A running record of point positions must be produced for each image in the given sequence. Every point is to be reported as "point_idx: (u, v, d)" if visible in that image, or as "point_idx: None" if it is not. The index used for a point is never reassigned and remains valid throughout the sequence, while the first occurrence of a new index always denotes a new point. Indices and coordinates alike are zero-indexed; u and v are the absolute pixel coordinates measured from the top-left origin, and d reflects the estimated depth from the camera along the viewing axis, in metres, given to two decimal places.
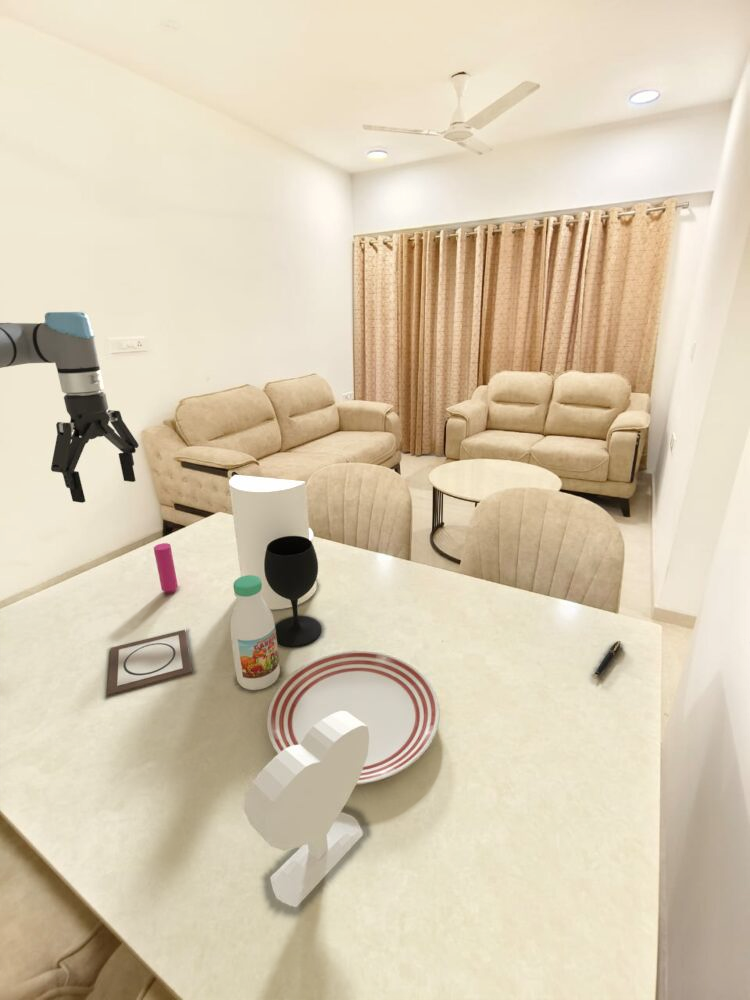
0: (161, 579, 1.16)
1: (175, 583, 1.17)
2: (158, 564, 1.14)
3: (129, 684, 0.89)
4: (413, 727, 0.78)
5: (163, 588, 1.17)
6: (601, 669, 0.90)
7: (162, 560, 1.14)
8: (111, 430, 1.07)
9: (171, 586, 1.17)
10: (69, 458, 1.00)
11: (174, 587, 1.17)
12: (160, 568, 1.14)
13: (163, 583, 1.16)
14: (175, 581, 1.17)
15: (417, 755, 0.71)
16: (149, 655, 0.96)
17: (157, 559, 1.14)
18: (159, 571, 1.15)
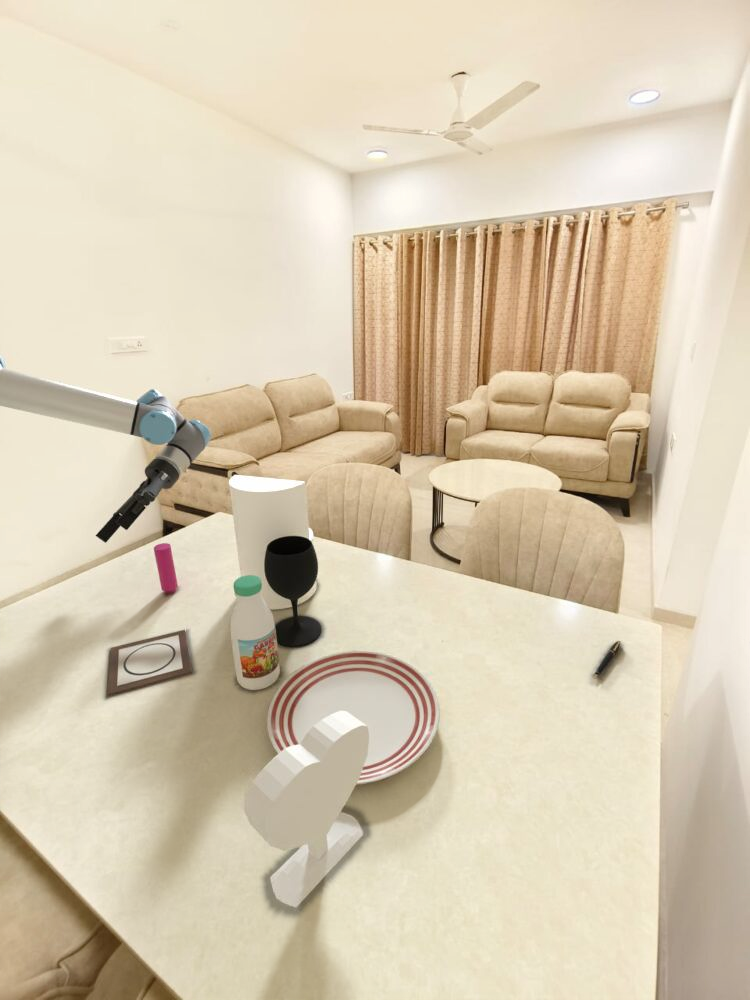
0: (161, 579, 1.16)
1: (175, 583, 1.17)
2: (158, 564, 1.14)
3: (129, 684, 0.89)
4: (413, 727, 0.78)
5: (163, 588, 1.17)
6: (601, 669, 0.90)
7: (162, 560, 1.14)
8: None
9: (171, 586, 1.17)
10: None
11: (174, 587, 1.17)
12: (160, 568, 1.14)
13: (163, 583, 1.16)
14: (175, 581, 1.17)
15: (417, 755, 0.71)
16: (149, 655, 0.96)
17: (157, 559, 1.14)
18: (159, 571, 1.15)
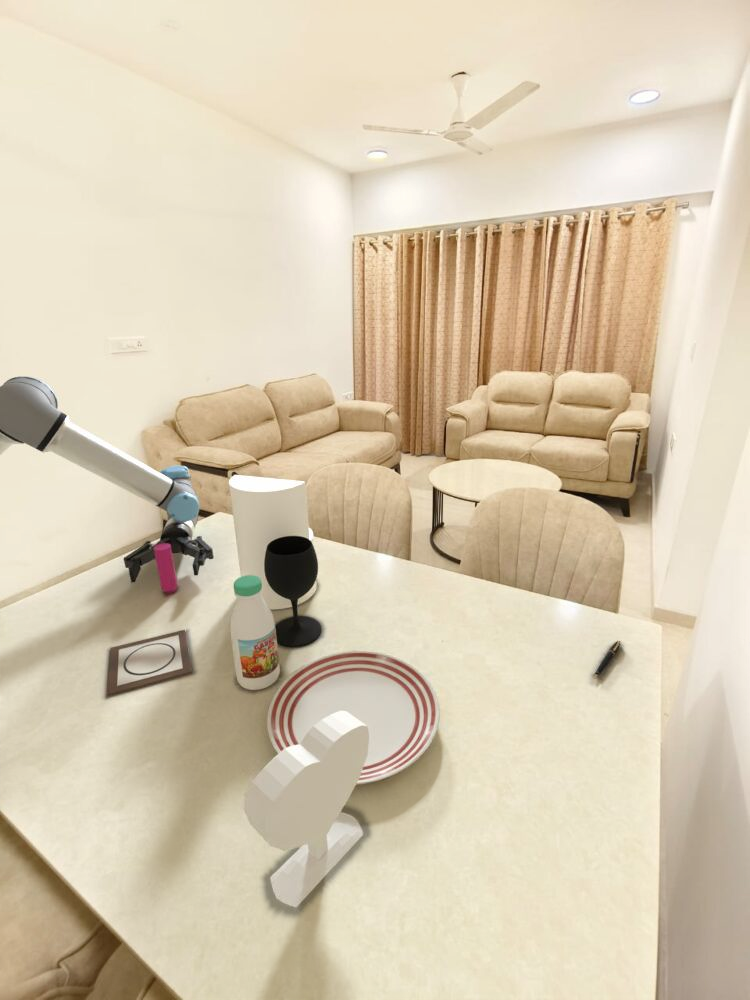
0: (161, 579, 1.16)
1: (175, 583, 1.17)
2: (158, 564, 1.14)
3: (129, 684, 0.89)
4: (413, 727, 0.78)
5: (163, 588, 1.17)
6: (601, 669, 0.90)
7: (162, 560, 1.14)
8: None
9: (171, 586, 1.17)
10: None
11: (174, 587, 1.17)
12: (160, 568, 1.14)
13: (163, 583, 1.16)
14: (175, 581, 1.17)
15: (417, 755, 0.71)
16: (149, 655, 0.96)
17: (157, 559, 1.14)
18: (159, 571, 1.15)
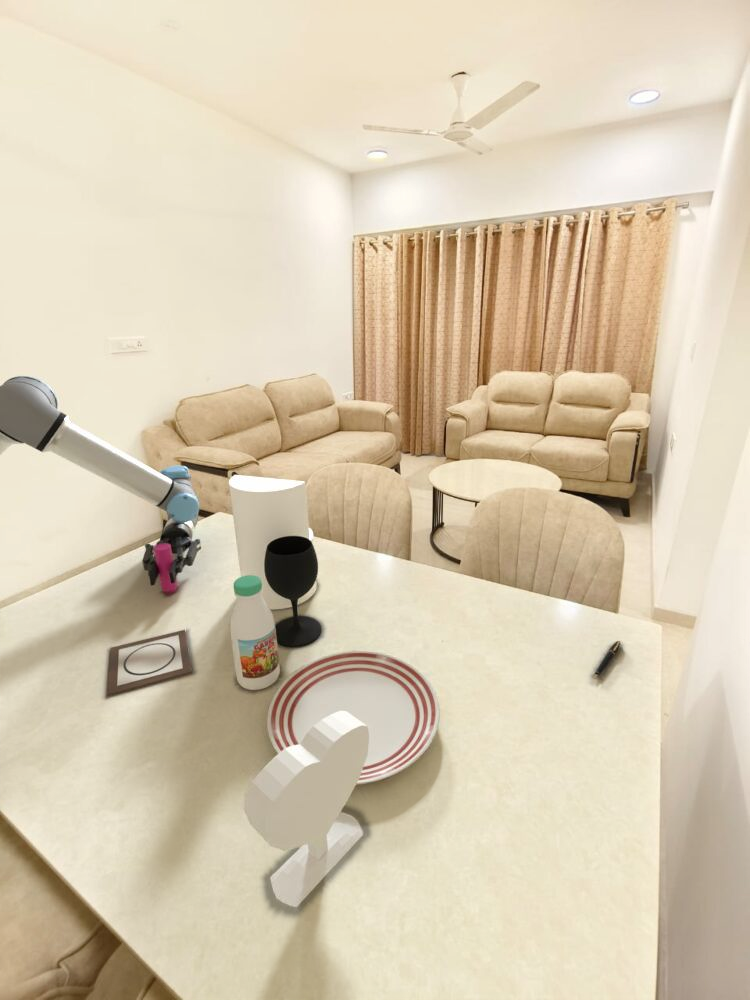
0: (161, 579, 1.16)
1: (175, 583, 1.17)
2: (158, 564, 1.14)
3: (129, 684, 0.89)
4: (413, 727, 0.78)
5: (163, 588, 1.17)
6: (601, 669, 0.90)
7: (162, 560, 1.14)
8: None
9: (171, 586, 1.17)
10: None
11: (174, 587, 1.17)
12: (160, 568, 1.14)
13: (163, 583, 1.16)
14: (175, 581, 1.17)
15: (417, 755, 0.71)
16: (149, 655, 0.96)
17: (157, 559, 1.14)
18: (159, 571, 1.15)
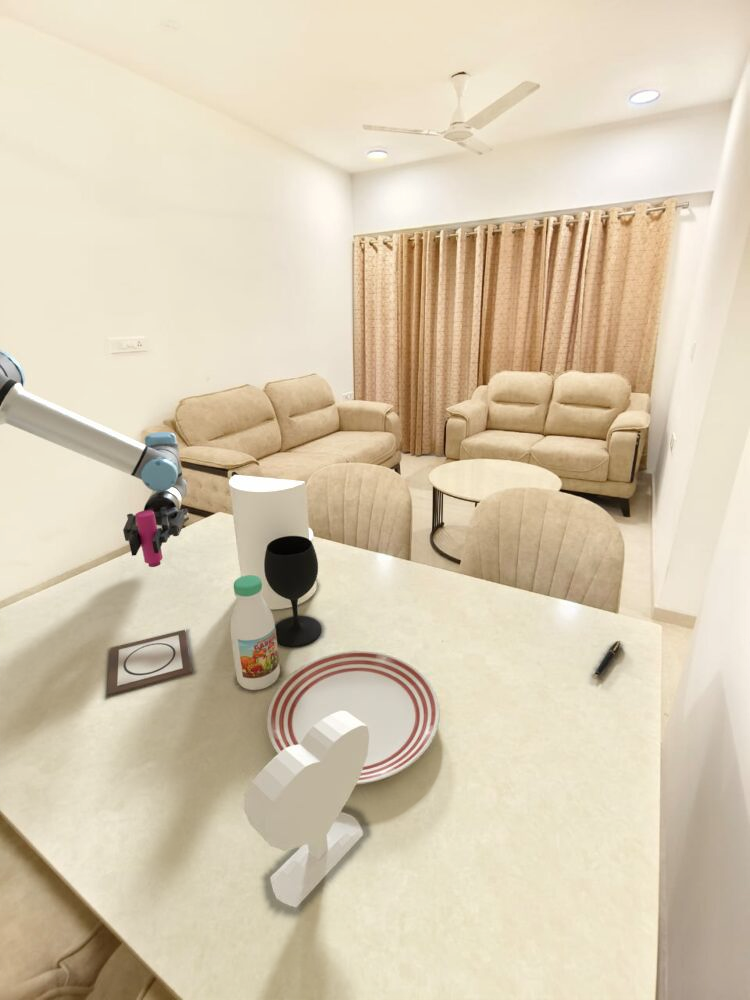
0: (144, 550, 1.05)
1: (159, 555, 1.07)
2: (140, 533, 1.04)
3: (129, 684, 0.89)
4: (413, 727, 0.78)
5: (146, 560, 1.06)
6: (601, 669, 0.90)
7: (145, 528, 1.03)
8: None
9: (155, 558, 1.06)
10: None
11: (158, 559, 1.07)
12: (142, 537, 1.04)
13: (146, 554, 1.05)
14: (159, 552, 1.07)
15: (417, 755, 0.71)
16: (149, 655, 0.96)
17: (139, 527, 1.03)
18: (141, 541, 1.04)
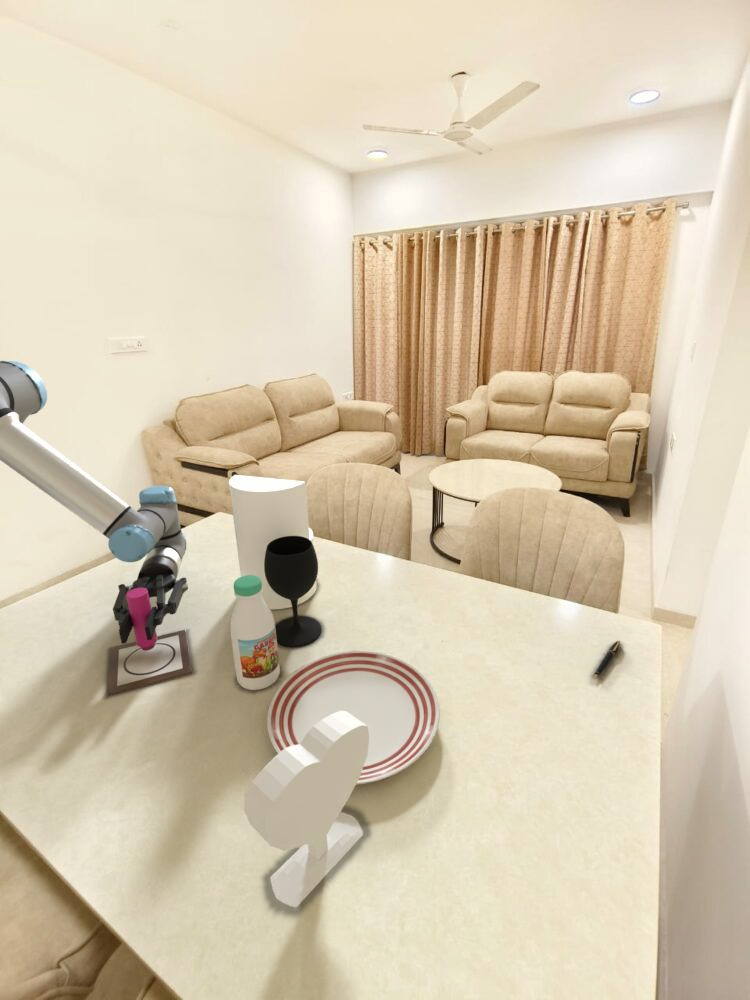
0: (136, 633, 0.92)
1: (154, 637, 0.94)
2: (132, 615, 0.91)
3: (129, 684, 0.89)
4: (413, 727, 0.78)
5: (139, 643, 0.93)
6: (601, 669, 0.90)
7: (137, 610, 0.90)
8: None
9: (149, 641, 0.93)
10: (164, 604, 0.97)
11: (152, 642, 0.94)
12: (134, 620, 0.91)
13: (139, 637, 0.93)
14: (154, 634, 0.94)
15: (417, 755, 0.71)
16: (149, 655, 0.96)
17: (130, 609, 0.91)
18: (133, 623, 0.92)
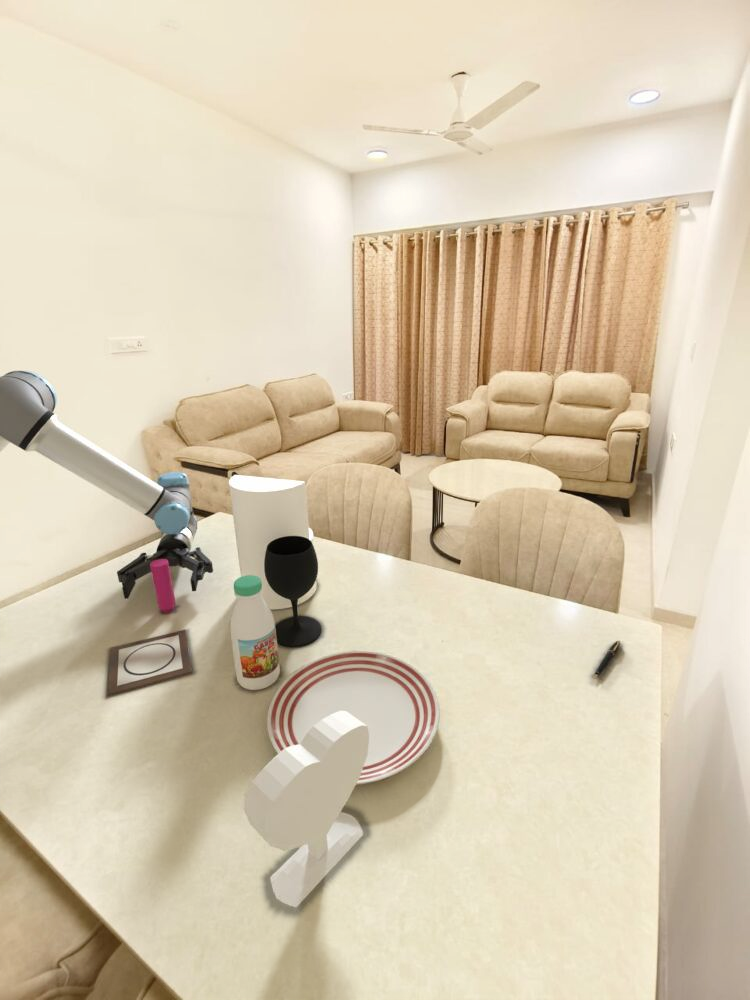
0: (158, 597, 1.09)
1: (173, 601, 1.10)
2: (155, 581, 1.07)
3: (129, 684, 0.89)
4: (413, 727, 0.78)
5: (160, 607, 1.09)
6: (601, 669, 0.90)
7: (159, 577, 1.07)
8: None
9: (169, 604, 1.09)
10: None
11: (172, 605, 1.10)
12: (157, 586, 1.07)
13: (160, 601, 1.09)
14: (173, 599, 1.10)
15: (417, 755, 0.71)
16: (149, 655, 0.96)
17: (154, 576, 1.07)
18: (156, 589, 1.08)
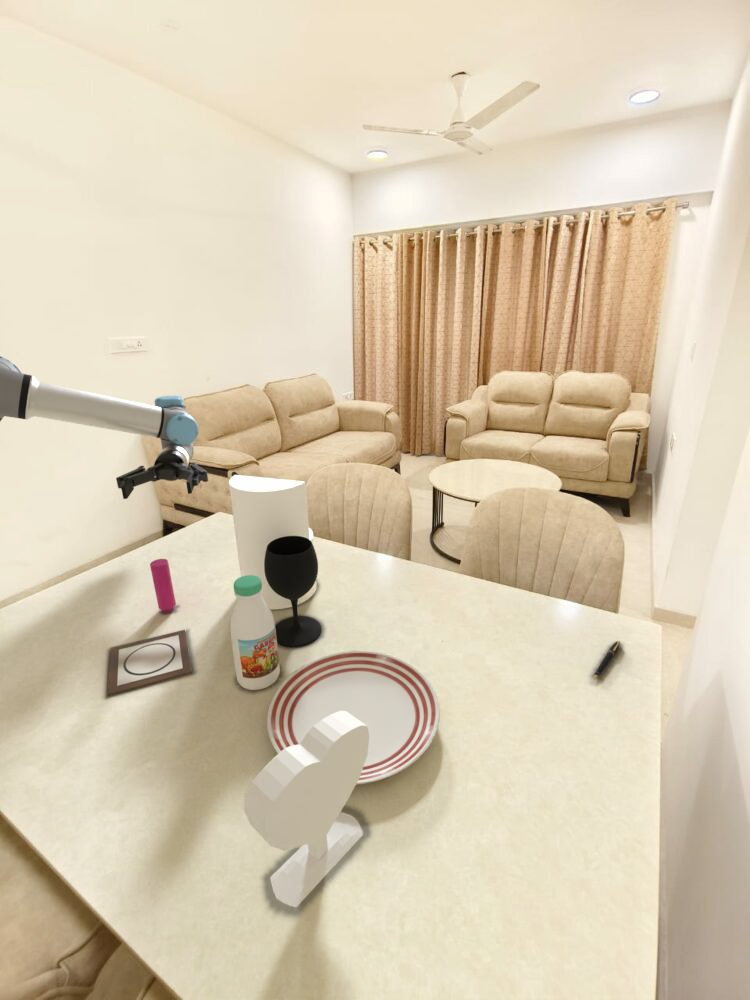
0: (158, 597, 1.09)
1: (173, 601, 1.10)
2: (155, 581, 1.07)
3: (129, 684, 0.89)
4: (413, 727, 0.78)
5: (160, 607, 1.09)
6: (601, 669, 0.90)
7: (159, 577, 1.07)
8: None
9: (169, 604, 1.09)
10: None
11: (172, 605, 1.10)
12: (157, 586, 1.07)
13: (160, 601, 1.09)
14: (173, 599, 1.10)
15: (417, 755, 0.71)
16: (149, 655, 0.96)
17: (154, 576, 1.07)
18: (156, 589, 1.08)
